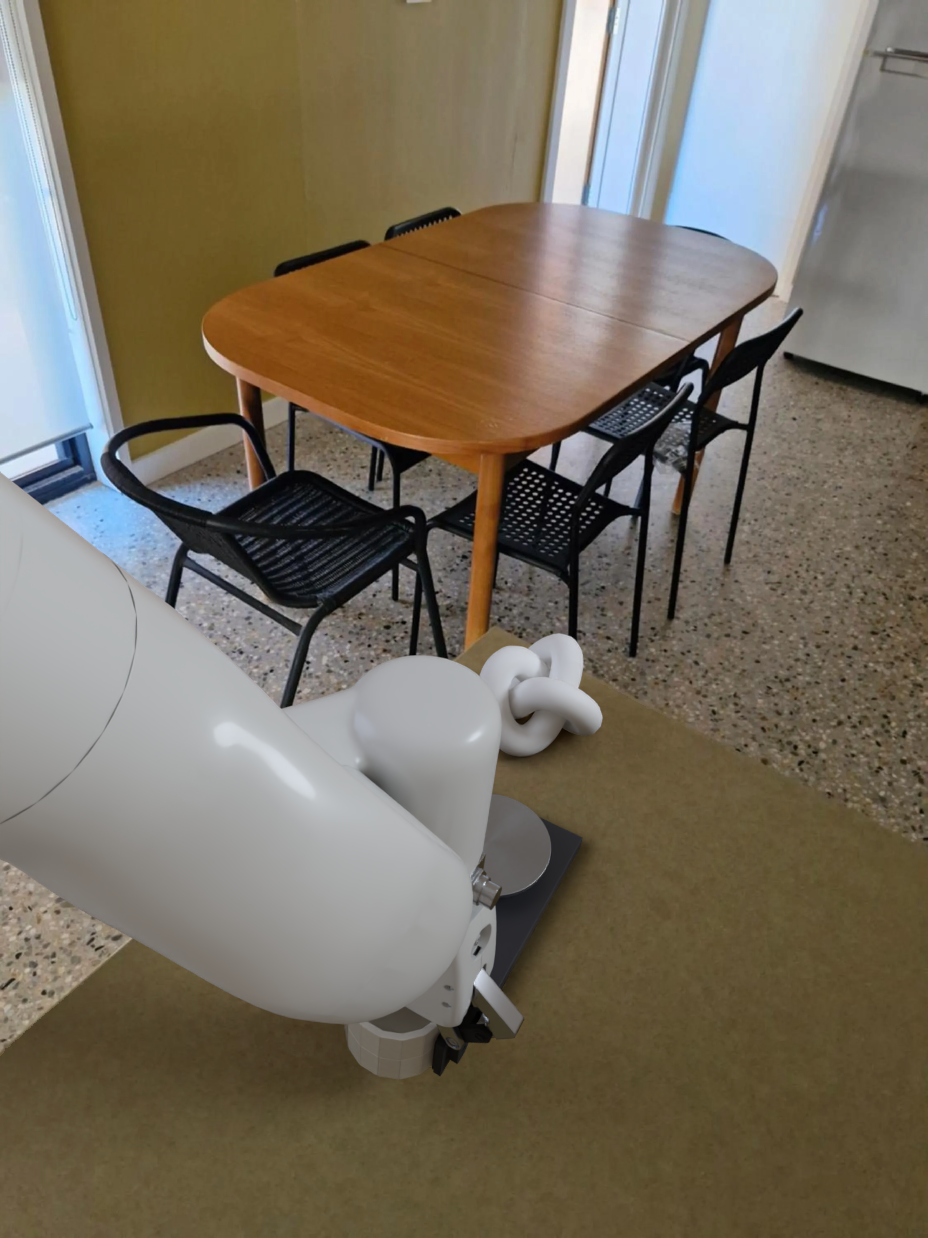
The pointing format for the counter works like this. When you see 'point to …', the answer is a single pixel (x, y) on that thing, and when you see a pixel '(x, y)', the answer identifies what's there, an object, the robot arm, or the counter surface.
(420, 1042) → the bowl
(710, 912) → the counter surface
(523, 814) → the brushed metal disc
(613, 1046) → the counter surface
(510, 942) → the scale
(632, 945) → the counter surface
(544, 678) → the white knot sculpture
